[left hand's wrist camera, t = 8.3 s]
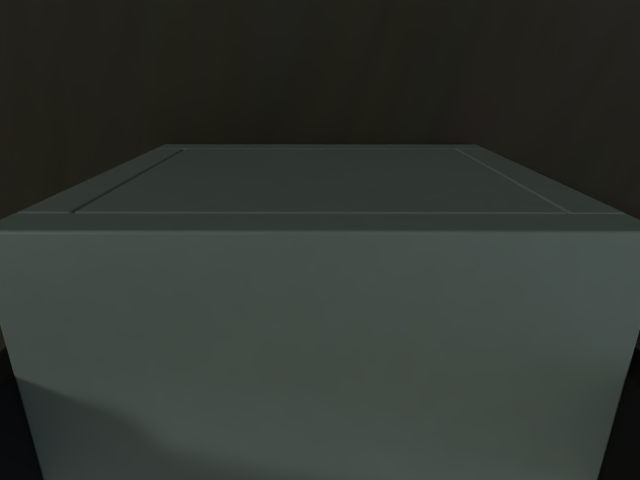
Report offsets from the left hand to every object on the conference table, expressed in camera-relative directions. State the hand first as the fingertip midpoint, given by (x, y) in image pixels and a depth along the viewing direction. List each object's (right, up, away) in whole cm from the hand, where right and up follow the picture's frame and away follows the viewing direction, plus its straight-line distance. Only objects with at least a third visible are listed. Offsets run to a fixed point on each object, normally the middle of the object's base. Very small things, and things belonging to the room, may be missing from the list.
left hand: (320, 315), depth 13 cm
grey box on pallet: (0, -2, +6) cm, 7 cm away
